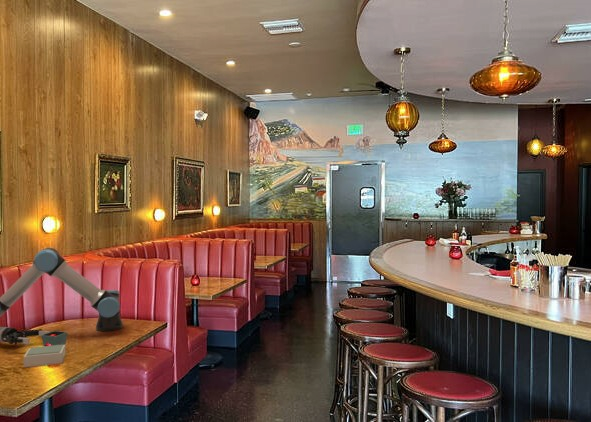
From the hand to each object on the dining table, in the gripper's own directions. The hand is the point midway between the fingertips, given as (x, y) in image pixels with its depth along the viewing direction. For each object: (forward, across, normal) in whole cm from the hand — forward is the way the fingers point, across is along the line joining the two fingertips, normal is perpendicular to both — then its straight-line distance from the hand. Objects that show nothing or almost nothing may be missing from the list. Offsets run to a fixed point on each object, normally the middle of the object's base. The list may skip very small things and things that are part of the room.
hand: (39, 337), depth 251 cm
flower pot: (+10, 0, -6) cm, 12 cm away
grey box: (+17, +14, -6) cm, 23 cm away
